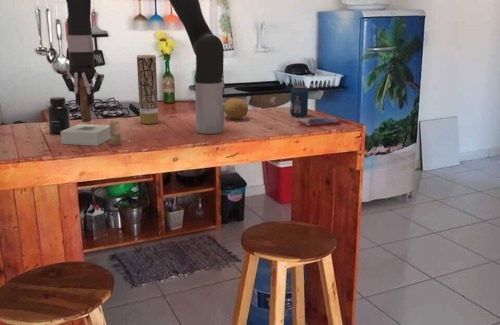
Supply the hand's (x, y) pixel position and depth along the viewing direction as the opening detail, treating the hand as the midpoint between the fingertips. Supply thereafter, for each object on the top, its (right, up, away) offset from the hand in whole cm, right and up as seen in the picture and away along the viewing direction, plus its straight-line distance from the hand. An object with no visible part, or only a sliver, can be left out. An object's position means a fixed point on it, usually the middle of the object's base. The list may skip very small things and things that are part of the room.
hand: (85, 105), depth 167 cm
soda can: (+72, 0, +45) cm, 85 cm away
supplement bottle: (-13, -8, +14) cm, 21 cm away
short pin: (+10, -13, -2) cm, 16 cm away
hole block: (0, -11, +3) cm, 12 cm away
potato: (+47, -1, +40) cm, 62 cm away
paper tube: (+15, -4, +31) cm, 34 cm away
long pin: (0, -5, +1) cm, 5 cm away
